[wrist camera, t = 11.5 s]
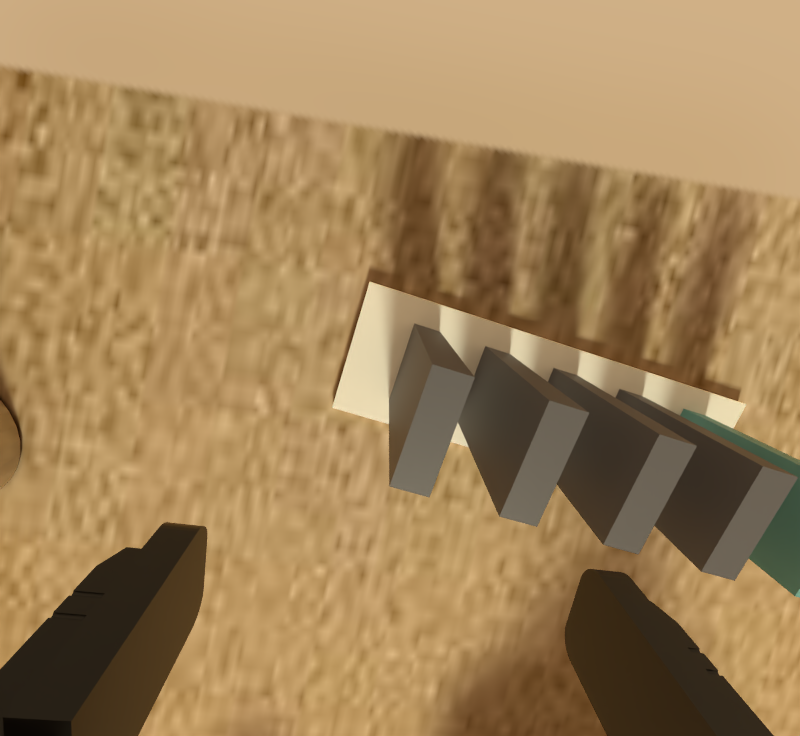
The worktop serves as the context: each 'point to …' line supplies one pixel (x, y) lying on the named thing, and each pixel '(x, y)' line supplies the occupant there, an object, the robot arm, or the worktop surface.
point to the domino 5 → (792, 524)
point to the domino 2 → (518, 434)
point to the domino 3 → (619, 465)
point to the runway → (468, 335)
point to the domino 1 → (425, 409)
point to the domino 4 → (716, 495)
